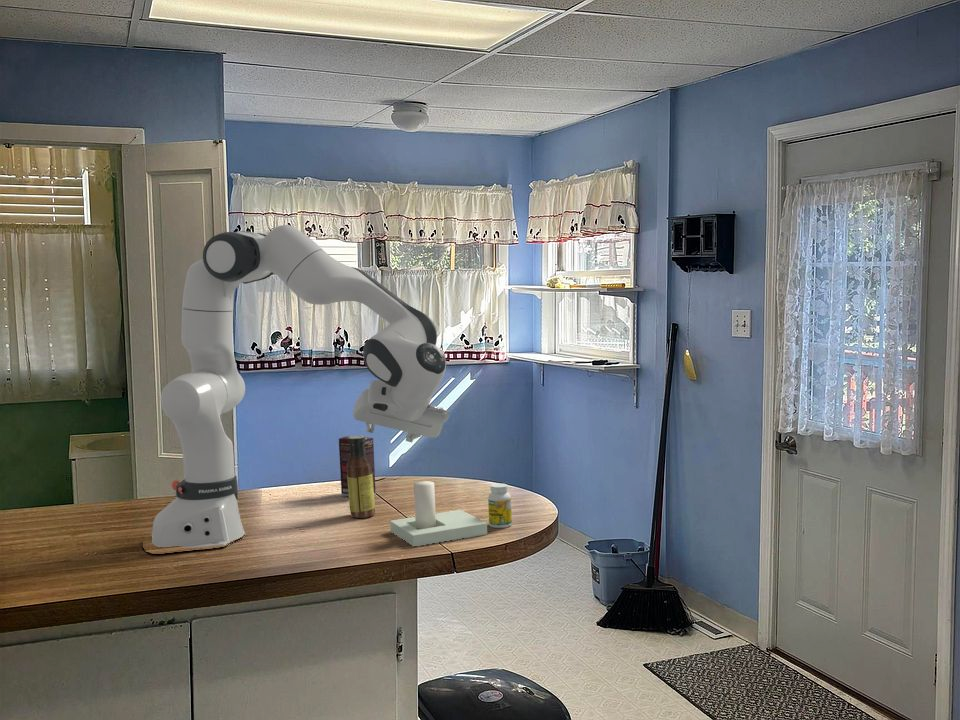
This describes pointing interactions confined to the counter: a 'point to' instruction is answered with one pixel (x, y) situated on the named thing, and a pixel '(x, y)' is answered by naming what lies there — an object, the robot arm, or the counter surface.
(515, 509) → the counter surface
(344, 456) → the supplement box
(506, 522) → the supplement bottle
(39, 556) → the counter surface
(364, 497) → the sauce bottle
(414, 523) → the socket board
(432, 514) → the peg
